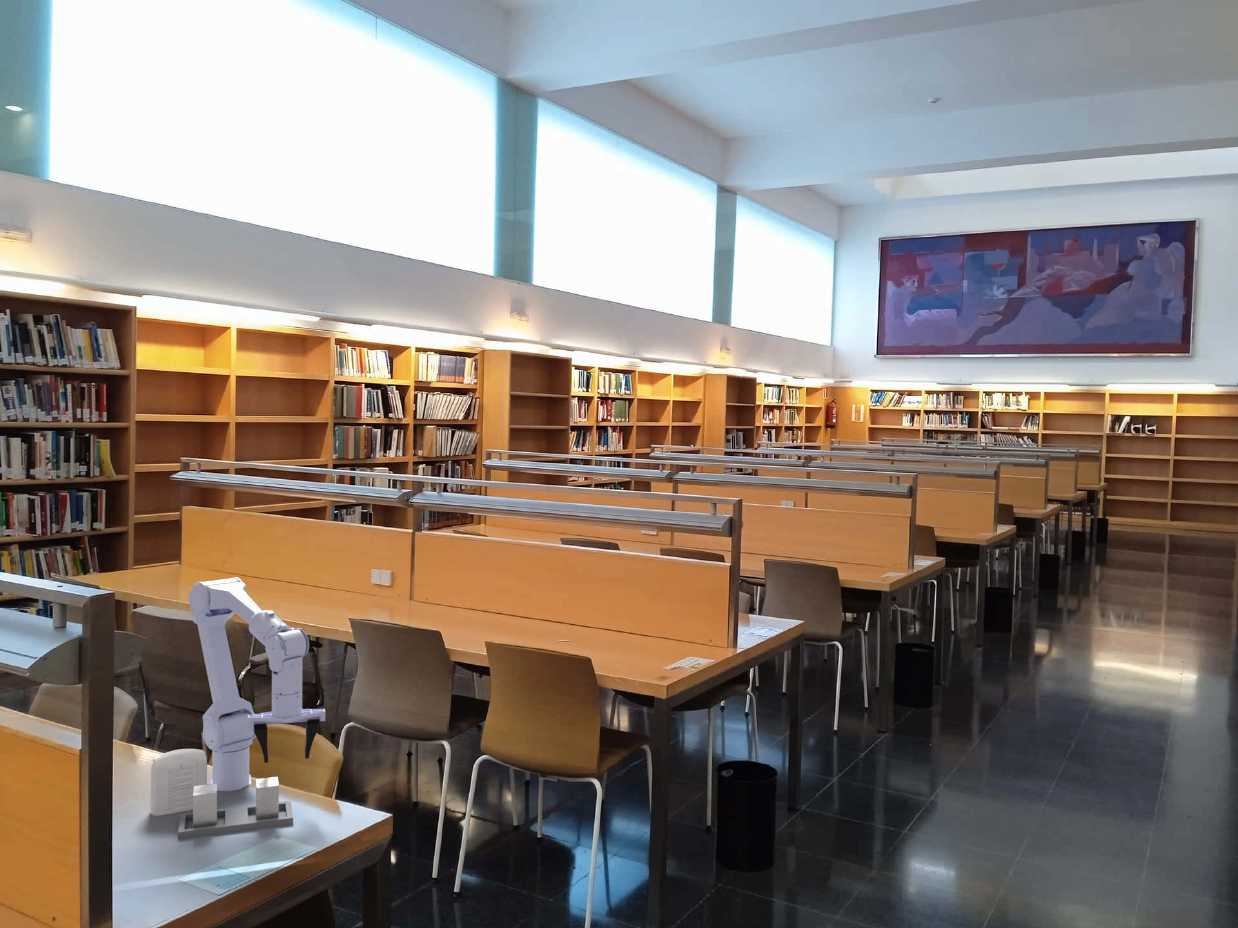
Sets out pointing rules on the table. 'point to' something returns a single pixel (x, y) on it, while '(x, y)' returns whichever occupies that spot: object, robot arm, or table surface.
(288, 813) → the pallet
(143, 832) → the table surface
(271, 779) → the block
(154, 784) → the white tombstone slab
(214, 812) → the block
